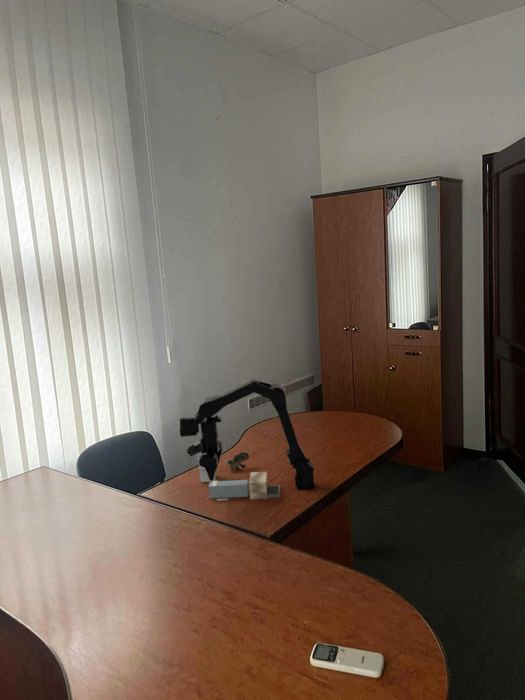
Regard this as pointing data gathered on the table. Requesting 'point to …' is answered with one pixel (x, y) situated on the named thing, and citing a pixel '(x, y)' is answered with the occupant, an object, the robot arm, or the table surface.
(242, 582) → the table surface
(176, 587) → the table surface
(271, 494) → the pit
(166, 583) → the table surface
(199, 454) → the syrup box
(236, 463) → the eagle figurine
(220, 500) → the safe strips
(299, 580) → the table surface
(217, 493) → the grey rectangular block
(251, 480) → the tunnel
